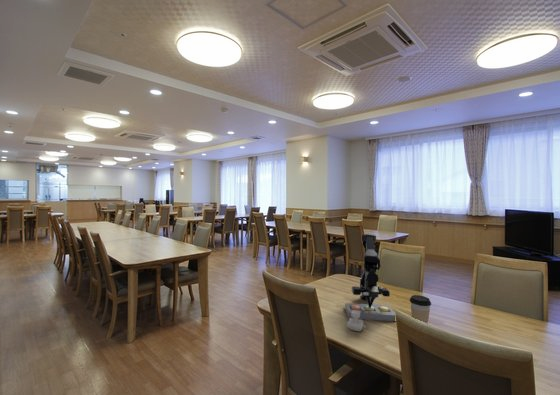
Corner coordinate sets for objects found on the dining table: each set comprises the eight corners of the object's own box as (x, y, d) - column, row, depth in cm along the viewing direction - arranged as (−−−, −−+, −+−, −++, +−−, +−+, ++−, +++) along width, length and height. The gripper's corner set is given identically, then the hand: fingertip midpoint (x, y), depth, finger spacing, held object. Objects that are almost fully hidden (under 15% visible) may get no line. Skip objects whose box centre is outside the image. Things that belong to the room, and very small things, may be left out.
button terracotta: (350, 311, 153) (350, 304, 153) (358, 311, 153) (358, 305, 153) (351, 314, 149) (352, 307, 149) (360, 314, 149) (360, 308, 149)
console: (344, 308, 158) (345, 302, 158) (388, 310, 156) (388, 304, 156) (348, 318, 145) (349, 312, 145) (396, 321, 143) (397, 314, 143)
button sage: (364, 311, 153) (364, 305, 153) (372, 312, 152) (372, 305, 152) (366, 315, 148) (366, 308, 148) (374, 315, 148) (375, 309, 148)
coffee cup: (433, 335, 130) (434, 302, 129) (411, 332, 131) (412, 300, 131) (426, 325, 139) (427, 295, 139) (406, 323, 141) (407, 293, 141)
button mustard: (378, 312, 152) (378, 306, 152) (386, 312, 152) (387, 306, 152) (380, 316, 148) (381, 309, 148) (389, 316, 148) (389, 310, 148)
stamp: (365, 328, 135) (366, 310, 135) (364, 334, 128) (365, 316, 128) (346, 324, 138) (347, 307, 138) (344, 330, 132) (345, 312, 132)
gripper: (355, 282, 143) (355, 312, 143) (393, 283, 142) (392, 314, 142) (351, 275, 154) (350, 304, 154) (386, 277, 153) (385, 306, 153)
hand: (369, 307), depth 150 cm, fingers closed, pressing on button sage
